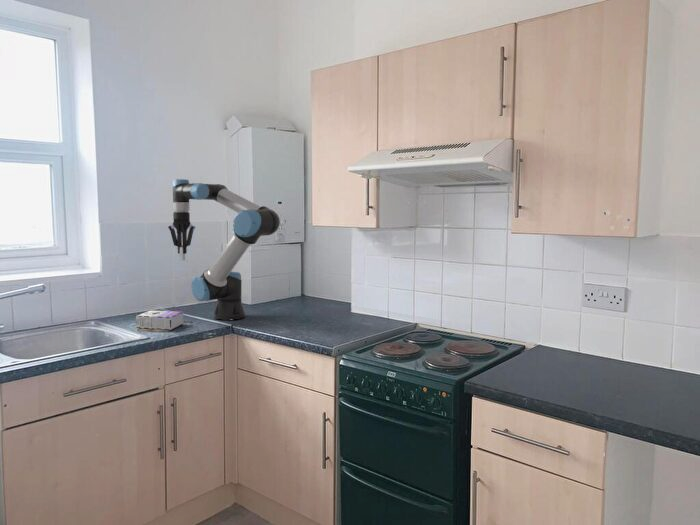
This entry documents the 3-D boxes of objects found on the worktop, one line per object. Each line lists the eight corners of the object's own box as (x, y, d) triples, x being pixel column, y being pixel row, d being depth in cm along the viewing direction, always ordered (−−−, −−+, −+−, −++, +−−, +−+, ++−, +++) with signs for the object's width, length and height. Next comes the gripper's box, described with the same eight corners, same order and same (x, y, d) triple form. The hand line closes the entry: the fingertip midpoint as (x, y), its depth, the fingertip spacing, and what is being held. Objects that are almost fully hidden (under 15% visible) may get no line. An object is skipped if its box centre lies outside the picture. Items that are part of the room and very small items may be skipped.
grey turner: (192, 321, 265) (192, 319, 265) (189, 323, 261) (189, 321, 261) (160, 320, 267) (160, 318, 267) (157, 322, 263) (156, 320, 263)
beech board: (182, 324, 260) (182, 322, 260) (167, 331, 244) (167, 330, 244) (153, 323, 261) (153, 321, 261) (137, 330, 245) (137, 329, 245)
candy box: (183, 323, 258) (150, 322, 260) (183, 311, 258) (149, 309, 259) (171, 330, 244) (135, 328, 246) (170, 317, 244) (135, 315, 246)
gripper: (197, 211, 272) (198, 259, 274) (171, 211, 273) (172, 259, 276) (191, 211, 264) (192, 261, 267) (165, 211, 266) (166, 260, 268)
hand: (182, 260), depth 271 cm, fingers closed
